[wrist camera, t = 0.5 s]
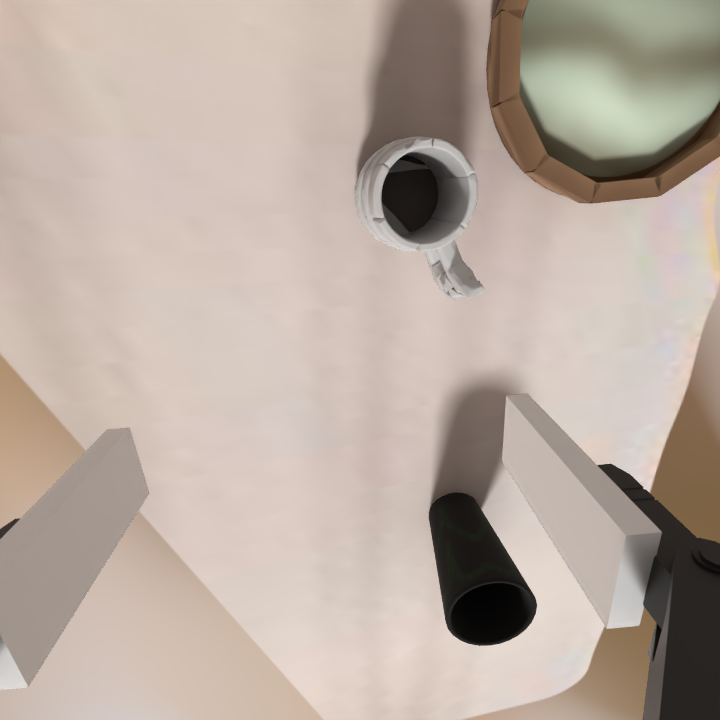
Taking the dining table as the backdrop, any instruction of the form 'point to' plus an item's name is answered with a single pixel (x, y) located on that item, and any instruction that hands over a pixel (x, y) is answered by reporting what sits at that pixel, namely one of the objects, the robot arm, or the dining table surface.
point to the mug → (445, 221)
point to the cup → (477, 575)
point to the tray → (606, 93)
